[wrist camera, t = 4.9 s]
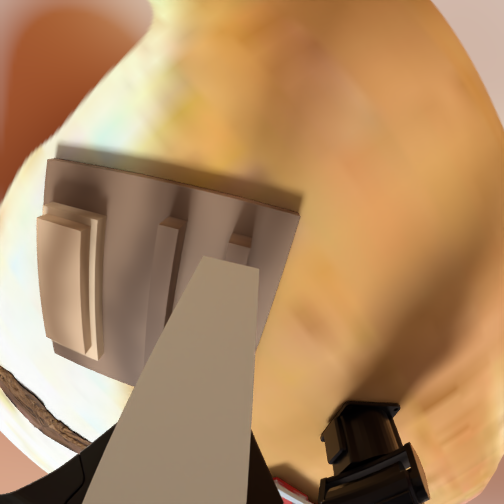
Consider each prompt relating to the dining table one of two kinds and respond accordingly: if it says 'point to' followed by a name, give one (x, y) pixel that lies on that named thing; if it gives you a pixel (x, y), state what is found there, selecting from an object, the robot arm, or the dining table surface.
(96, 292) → the lower oak offcut
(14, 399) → the wooden fragment
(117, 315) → the walnut rack
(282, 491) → the maze game
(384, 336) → the dining table surface
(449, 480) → the dining table surface
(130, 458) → the taupe rectangular block
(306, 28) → the dining table surface
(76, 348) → the upper oak offcut
